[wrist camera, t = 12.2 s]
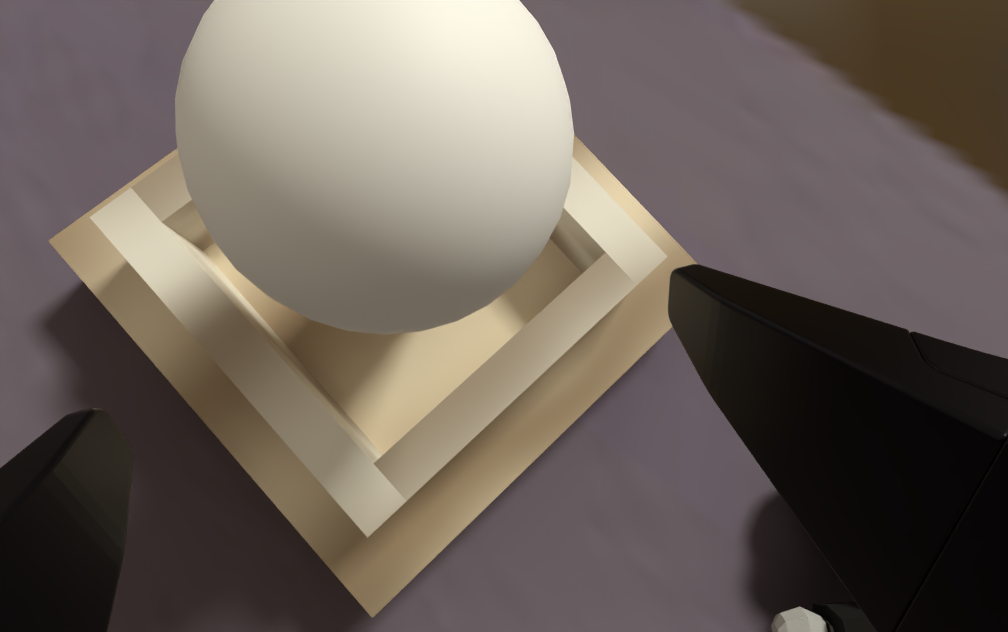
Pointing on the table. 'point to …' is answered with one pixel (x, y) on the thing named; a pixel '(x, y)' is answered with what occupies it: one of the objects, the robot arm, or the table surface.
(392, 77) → the lightbulb
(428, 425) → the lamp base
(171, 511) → the table surface
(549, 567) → the table surface
